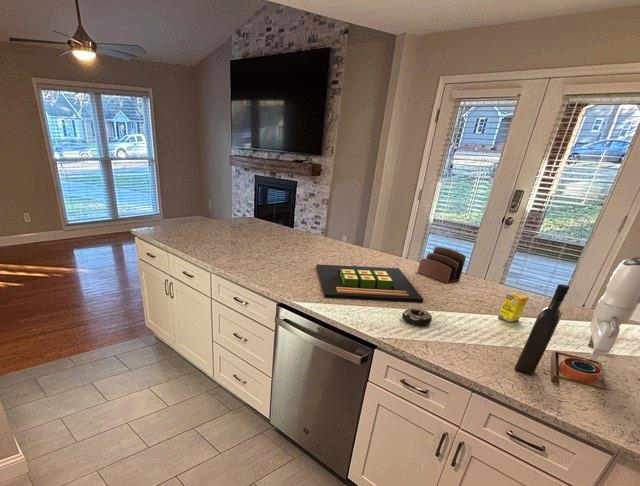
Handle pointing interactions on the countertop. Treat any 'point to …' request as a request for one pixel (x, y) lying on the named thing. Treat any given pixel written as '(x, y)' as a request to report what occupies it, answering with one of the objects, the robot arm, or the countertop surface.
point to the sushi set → (366, 283)
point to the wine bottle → (541, 333)
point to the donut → (417, 317)
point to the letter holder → (443, 265)
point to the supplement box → (512, 307)
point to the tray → (556, 377)
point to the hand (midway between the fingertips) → (591, 352)
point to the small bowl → (583, 367)
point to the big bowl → (578, 375)
